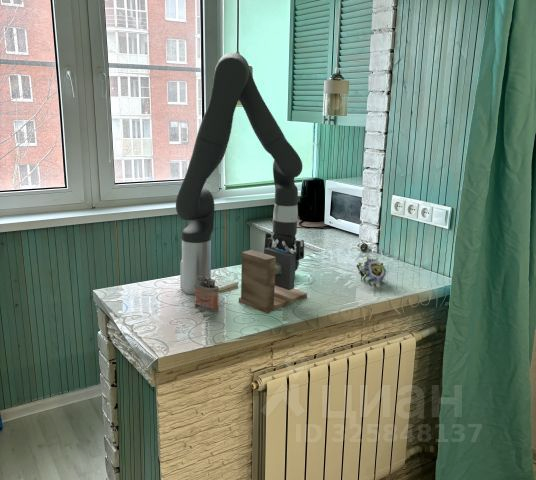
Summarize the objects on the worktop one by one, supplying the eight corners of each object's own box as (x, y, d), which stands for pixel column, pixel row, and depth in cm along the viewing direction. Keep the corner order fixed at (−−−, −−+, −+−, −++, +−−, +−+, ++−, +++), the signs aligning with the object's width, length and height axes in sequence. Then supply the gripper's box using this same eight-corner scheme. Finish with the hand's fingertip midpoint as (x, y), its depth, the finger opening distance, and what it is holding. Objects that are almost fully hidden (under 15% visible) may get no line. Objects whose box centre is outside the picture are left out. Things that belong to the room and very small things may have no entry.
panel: (267, 279, 170) (269, 247, 167) (294, 288, 163) (295, 254, 160) (262, 281, 168) (264, 248, 165) (289, 290, 161) (290, 256, 158)
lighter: (220, 310, 156) (221, 278, 154) (214, 313, 153) (214, 281, 151) (199, 304, 160) (199, 273, 157) (192, 307, 157) (192, 276, 155)
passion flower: (375, 301, 181) (369, 281, 173) (351, 287, 188) (345, 266, 180) (395, 280, 185) (391, 258, 176) (372, 266, 192) (366, 245, 184)
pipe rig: (280, 286, 177) (282, 239, 172) (308, 296, 169) (311, 247, 165) (238, 302, 162) (239, 251, 158) (267, 313, 155) (269, 260, 150)
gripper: (260, 216, 164) (258, 265, 168) (295, 224, 155) (293, 276, 159) (275, 212, 169) (273, 260, 174) (311, 220, 160) (308, 270, 165)
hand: (283, 268), depth 166 cm, fingers open, 8 cm apart
